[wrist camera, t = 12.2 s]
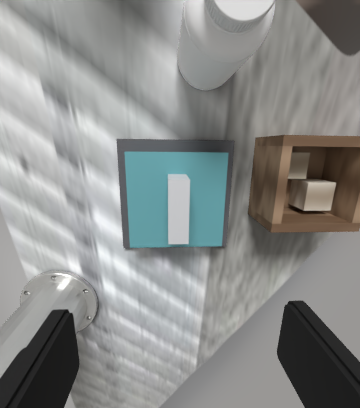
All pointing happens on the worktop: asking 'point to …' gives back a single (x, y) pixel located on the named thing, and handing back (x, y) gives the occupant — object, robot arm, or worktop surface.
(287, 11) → the worktop surface
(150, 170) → the lid
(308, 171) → the crate
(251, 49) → the pill bottle
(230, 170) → the mat
